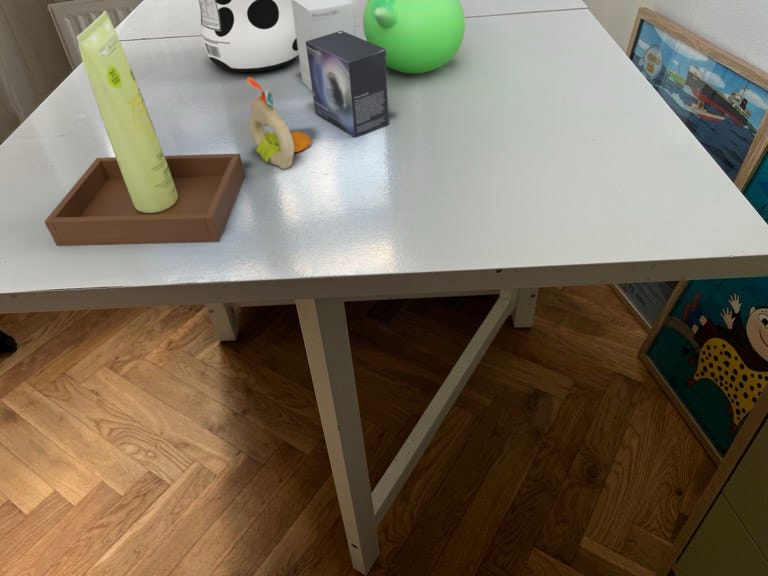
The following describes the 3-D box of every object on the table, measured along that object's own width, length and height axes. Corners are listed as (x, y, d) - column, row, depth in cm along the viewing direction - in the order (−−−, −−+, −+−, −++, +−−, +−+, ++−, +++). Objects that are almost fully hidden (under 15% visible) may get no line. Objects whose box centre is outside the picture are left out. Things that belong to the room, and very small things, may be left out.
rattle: (333, 160, 71) (322, 69, 63) (274, 179, 68) (255, 87, 60) (307, 138, 75) (294, 52, 68) (251, 156, 72) (231, 67, 65)
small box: (311, 114, 81) (301, 39, 74) (348, 102, 84) (342, 29, 77) (353, 139, 75) (346, 60, 68) (391, 124, 78) (388, 47, 71)
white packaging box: (317, 98, 86) (306, 9, 77) (301, 82, 91) (289, -2, 82) (360, 88, 88) (354, 1, 80) (343, 73, 93) (335, -10, 85)
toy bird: (480, 78, 89) (487, -24, 79) (381, 96, 85) (376, -9, 75) (434, 45, 102) (436, -47, 92) (347, 59, 98) (339, -35, 88)
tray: (56, 245, 59) (43, 221, 57) (106, 180, 69) (96, 157, 67) (219, 241, 58) (212, 217, 56) (245, 175, 69) (240, 153, 66)
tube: (189, 203, 63) (131, 21, 50) (148, 222, 61) (75, 35, 48) (166, 186, 66) (106, 10, 53) (126, 203, 64) (52, 22, 51)
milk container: (315, 45, 104) (302, -67, 92) (295, 80, 92) (277, -44, 80) (226, 46, 106) (202, -64, 94) (195, 80, 93) (162, -41, 81)
